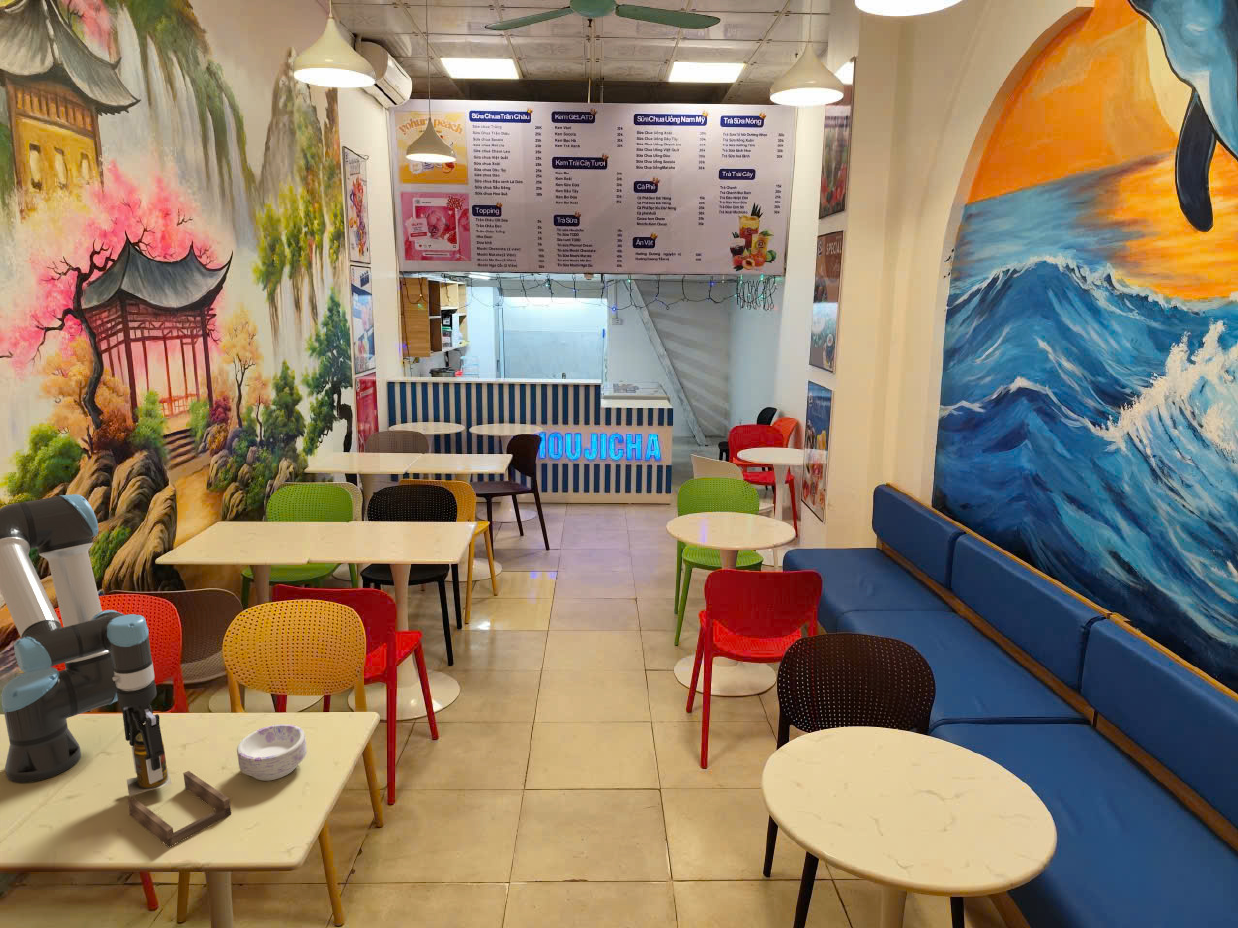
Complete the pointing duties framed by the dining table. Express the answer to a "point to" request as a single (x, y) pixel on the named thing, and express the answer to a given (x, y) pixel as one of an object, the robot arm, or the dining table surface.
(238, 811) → the dining table surface
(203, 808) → the dining table surface
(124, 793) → the dining table surface
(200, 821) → the walnut shelf lane
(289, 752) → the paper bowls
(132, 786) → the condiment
